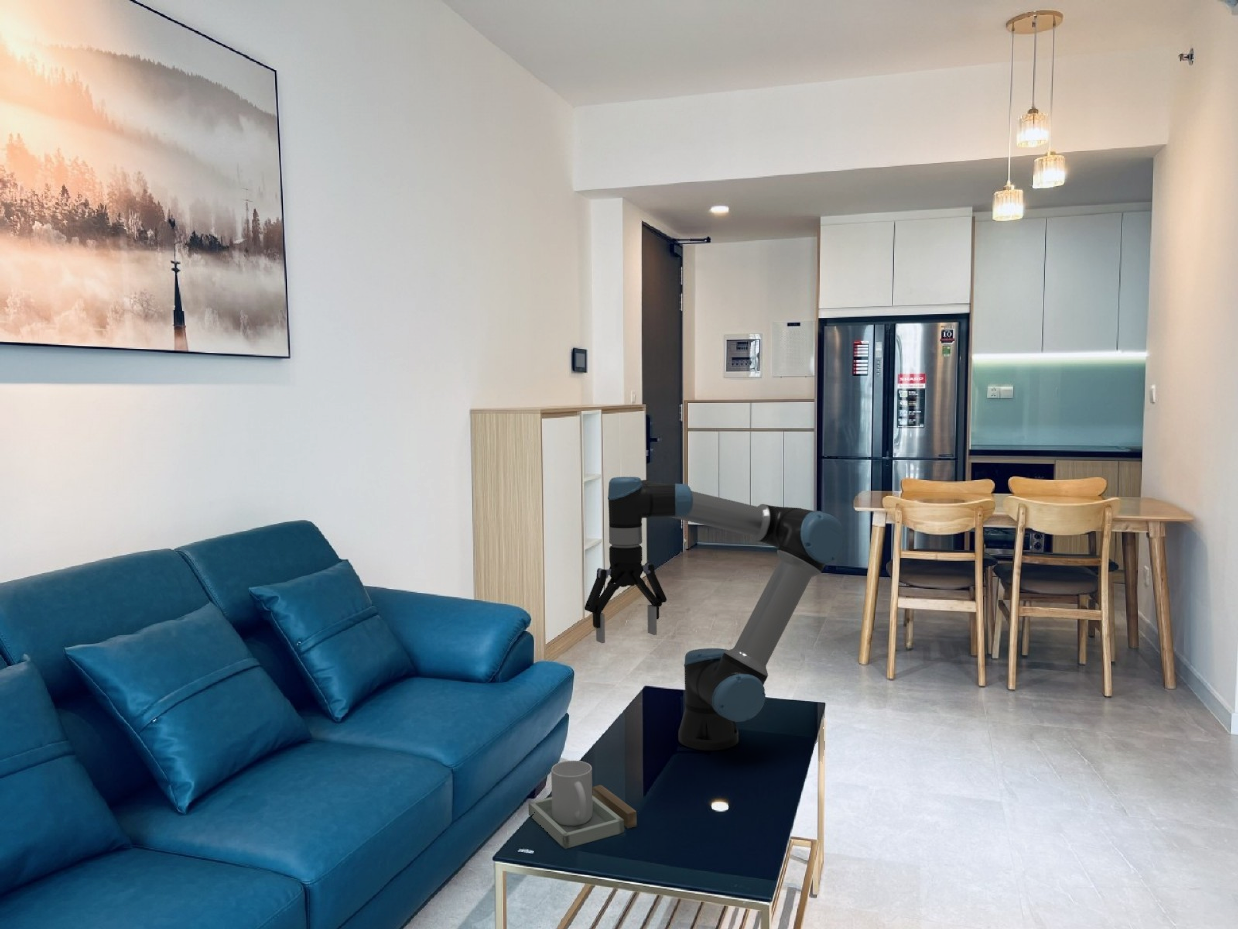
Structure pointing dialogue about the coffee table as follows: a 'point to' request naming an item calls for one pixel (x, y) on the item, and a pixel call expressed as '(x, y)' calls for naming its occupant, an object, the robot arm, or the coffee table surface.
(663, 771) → the coffee table surface
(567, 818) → the mug
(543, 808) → the frame
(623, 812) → the edge rail
